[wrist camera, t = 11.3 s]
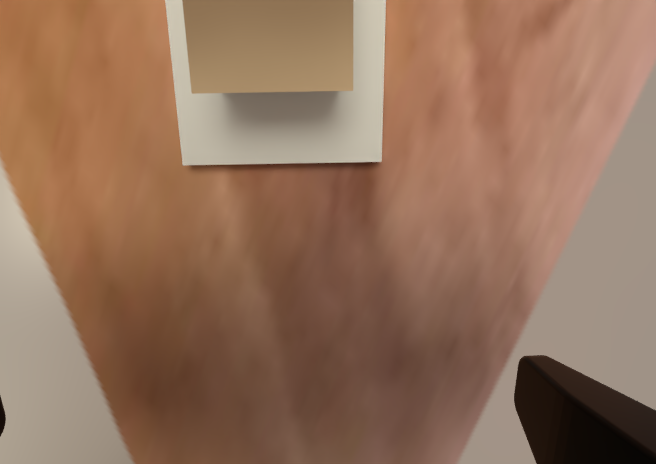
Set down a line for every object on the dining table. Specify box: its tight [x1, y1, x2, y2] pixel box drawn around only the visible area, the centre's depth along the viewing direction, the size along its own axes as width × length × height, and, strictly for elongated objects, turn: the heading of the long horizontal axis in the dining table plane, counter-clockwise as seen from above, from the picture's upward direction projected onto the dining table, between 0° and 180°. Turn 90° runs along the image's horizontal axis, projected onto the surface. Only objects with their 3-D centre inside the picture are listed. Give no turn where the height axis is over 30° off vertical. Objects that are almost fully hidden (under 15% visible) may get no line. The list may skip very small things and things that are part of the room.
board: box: [165, 0, 386, 165], centre depth 16 cm, size 10×7×1 cm
